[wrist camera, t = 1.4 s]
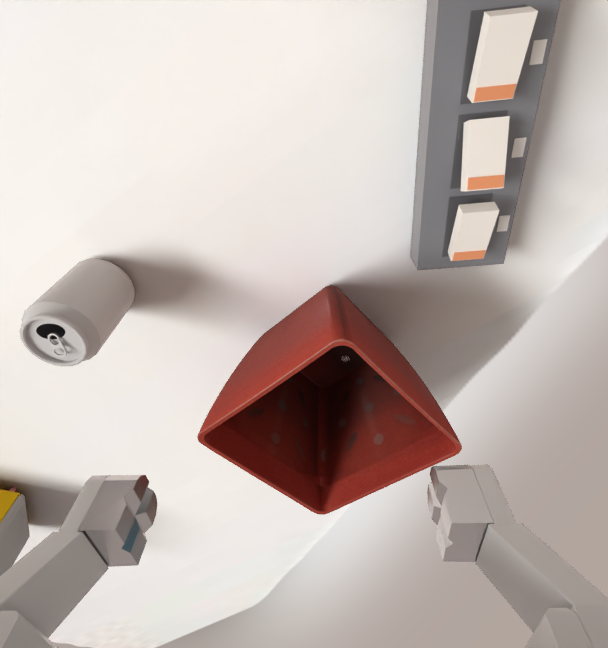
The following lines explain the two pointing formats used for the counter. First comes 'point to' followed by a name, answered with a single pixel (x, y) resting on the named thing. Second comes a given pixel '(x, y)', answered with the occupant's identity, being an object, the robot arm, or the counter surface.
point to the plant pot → (327, 409)
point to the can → (77, 313)
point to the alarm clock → (12, 527)
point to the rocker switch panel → (455, 108)
